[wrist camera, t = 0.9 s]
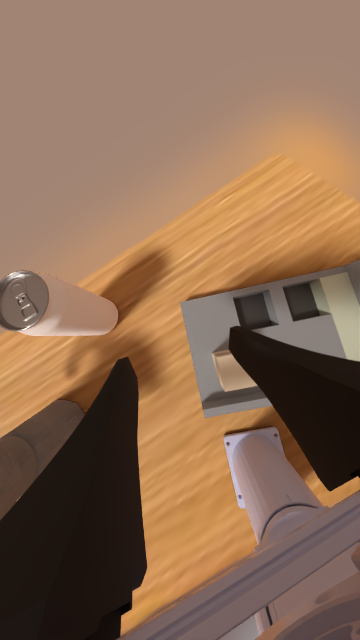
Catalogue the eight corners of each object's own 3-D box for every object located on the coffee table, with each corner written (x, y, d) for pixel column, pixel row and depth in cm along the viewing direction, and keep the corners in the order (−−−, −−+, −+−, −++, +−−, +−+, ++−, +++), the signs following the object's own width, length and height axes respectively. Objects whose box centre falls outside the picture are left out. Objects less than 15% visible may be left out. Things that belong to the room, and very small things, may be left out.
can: (108, 291, 25) (33, 252, 13) (126, 322, 24) (64, 309, 12) (77, 311, 25) (-25, 290, 13) (95, 342, 24) (2, 350, 12)
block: (245, 375, 20) (259, 385, 16) (218, 380, 20) (225, 391, 16) (238, 347, 20) (250, 350, 16) (211, 352, 21) (217, 357, 17)
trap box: (373, 370, 21) (417, 378, 17) (201, 402, 22) (204, 417, 18) (337, 270, 23) (369, 256, 19) (180, 305, 24) (179, 299, 20)
